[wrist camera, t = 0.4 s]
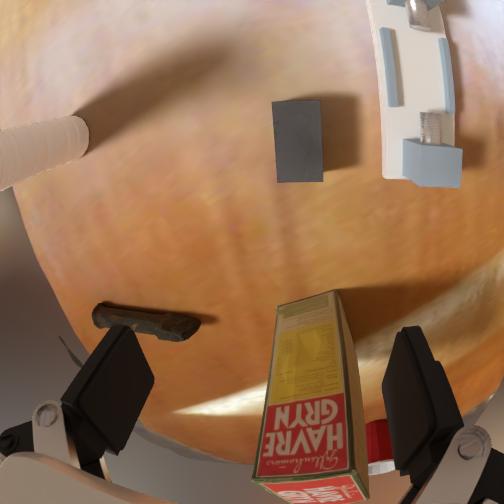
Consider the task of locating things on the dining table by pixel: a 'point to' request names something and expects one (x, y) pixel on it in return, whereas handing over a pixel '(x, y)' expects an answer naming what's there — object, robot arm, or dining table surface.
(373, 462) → the plastic cup
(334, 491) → the food packaging
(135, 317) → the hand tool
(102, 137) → the dining table surface
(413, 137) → the shaft stand
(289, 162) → the block
